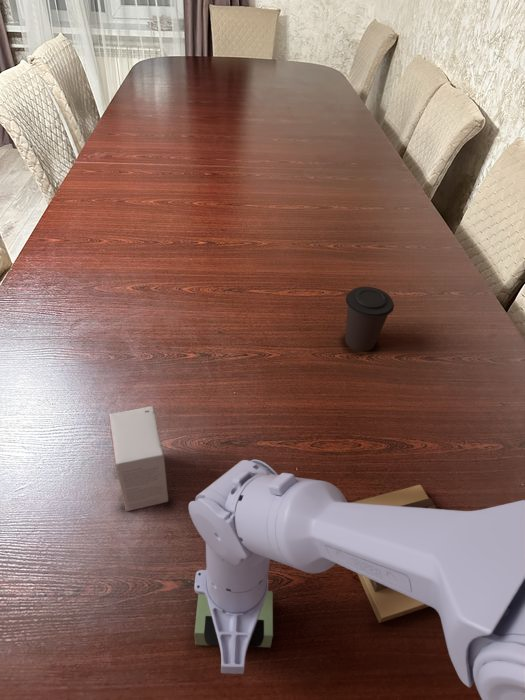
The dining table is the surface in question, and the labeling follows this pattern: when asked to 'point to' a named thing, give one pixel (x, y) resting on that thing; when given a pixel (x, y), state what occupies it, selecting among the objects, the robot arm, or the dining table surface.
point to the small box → (138, 458)
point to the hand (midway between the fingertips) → (234, 618)
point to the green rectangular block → (264, 615)
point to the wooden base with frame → (380, 596)
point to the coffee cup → (366, 316)
